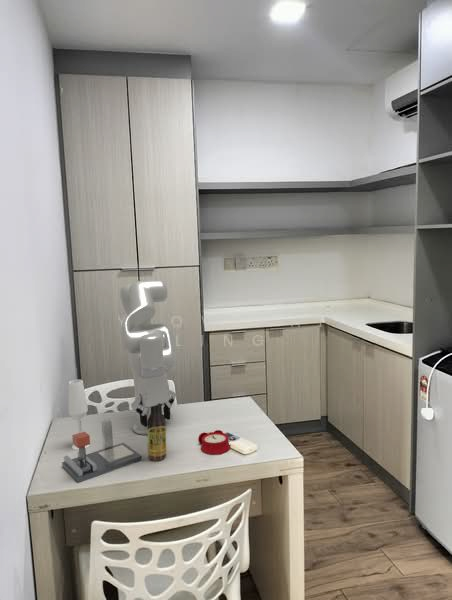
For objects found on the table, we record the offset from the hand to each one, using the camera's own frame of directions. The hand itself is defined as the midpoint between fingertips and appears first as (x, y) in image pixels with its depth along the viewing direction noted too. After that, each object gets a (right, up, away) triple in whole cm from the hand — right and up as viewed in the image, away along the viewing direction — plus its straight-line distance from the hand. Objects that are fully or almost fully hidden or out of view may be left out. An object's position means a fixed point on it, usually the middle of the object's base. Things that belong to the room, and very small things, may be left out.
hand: (155, 421), depth 157 cm
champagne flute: (-29, -12, +14) cm, 35 cm away
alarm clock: (+19, -11, +9) cm, 24 cm away
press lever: (-22, -13, -8) cm, 27 cm away
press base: (-18, -14, -1) cm, 22 cm away
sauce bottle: (+1, -13, +2) cm, 13 cm away
